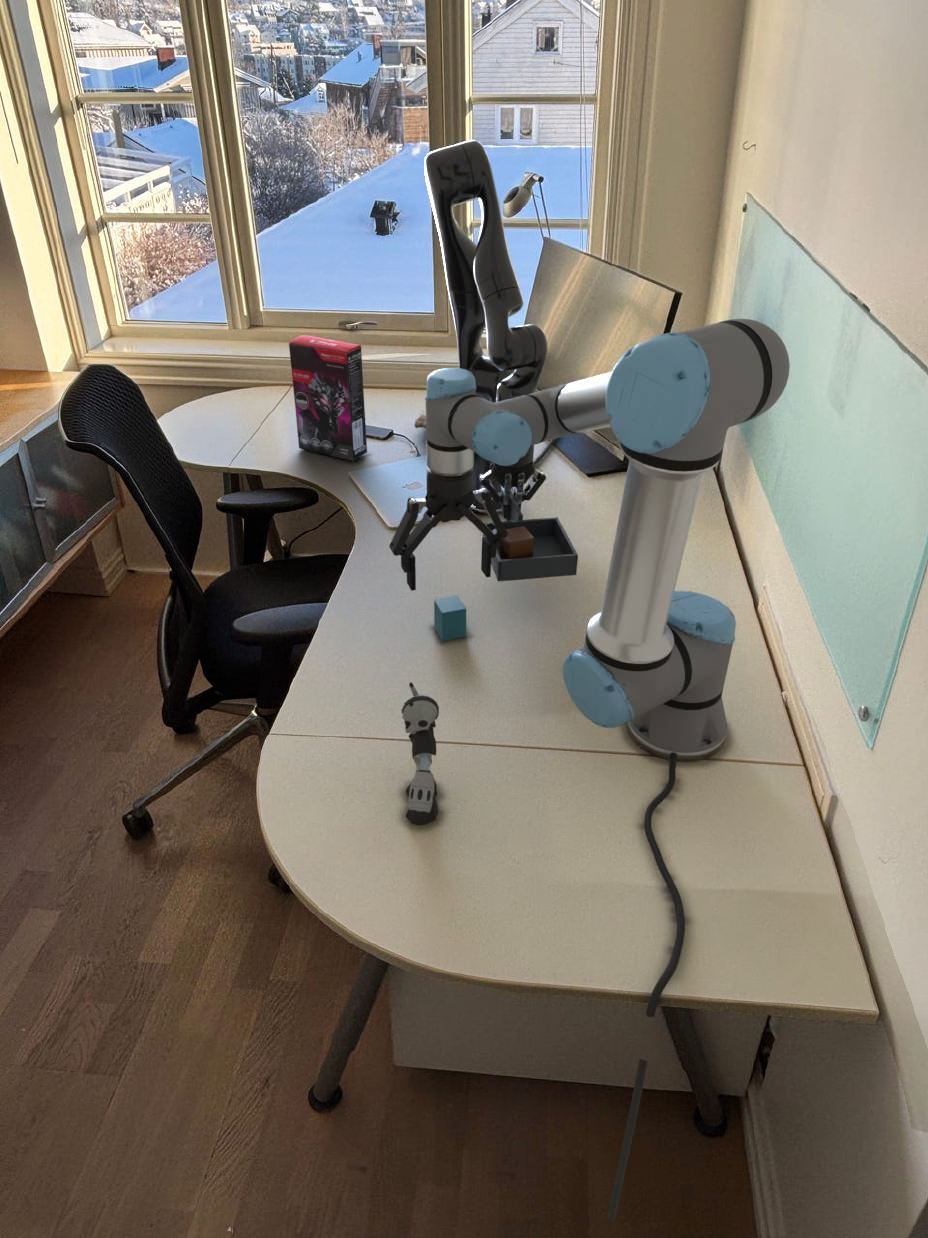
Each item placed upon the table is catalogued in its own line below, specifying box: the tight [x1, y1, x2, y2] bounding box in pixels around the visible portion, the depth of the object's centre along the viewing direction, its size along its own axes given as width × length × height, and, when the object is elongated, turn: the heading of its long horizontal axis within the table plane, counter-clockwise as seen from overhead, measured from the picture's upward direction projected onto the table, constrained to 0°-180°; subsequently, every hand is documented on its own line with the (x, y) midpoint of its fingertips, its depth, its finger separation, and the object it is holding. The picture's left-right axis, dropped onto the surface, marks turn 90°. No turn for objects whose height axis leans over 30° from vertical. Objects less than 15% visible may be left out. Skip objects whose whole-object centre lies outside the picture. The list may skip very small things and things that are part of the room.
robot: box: [401, 681, 440, 826], centre depth 124 cm, size 20×5×20 cm, turn 3°
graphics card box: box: [288, 334, 368, 462], centre depth 223 cm, size 17×7×27 cm, turn 62°
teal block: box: [433, 595, 467, 642], centre depth 163 cm, size 4×4×6 cm
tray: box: [482, 491, 579, 582], centre depth 170 cm, size 24×14×5 cm, turn 10°
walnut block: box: [500, 526, 534, 560], centre depth 163 cm, size 4×4×6 cm
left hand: (510, 519), depth 180 cm, fingers closed on tray, 1 cm apart
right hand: (449, 579), depth 159 cm, fingers open, 13 cm apart
